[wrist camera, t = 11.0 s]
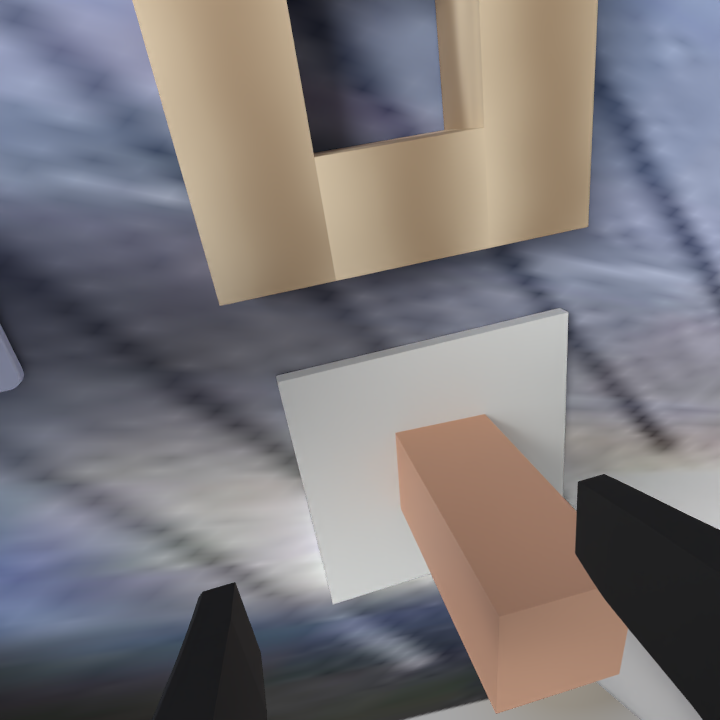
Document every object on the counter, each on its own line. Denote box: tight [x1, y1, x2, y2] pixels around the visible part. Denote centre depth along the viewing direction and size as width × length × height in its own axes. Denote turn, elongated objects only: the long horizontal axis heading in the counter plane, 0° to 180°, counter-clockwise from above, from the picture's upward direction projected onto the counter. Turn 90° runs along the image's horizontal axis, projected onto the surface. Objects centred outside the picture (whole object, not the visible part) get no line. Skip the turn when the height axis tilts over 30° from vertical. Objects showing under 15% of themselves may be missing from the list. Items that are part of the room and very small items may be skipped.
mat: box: [276, 308, 568, 604], centre depth 22 cm, size 12×12×1 cm
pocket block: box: [132, 0, 598, 306], centre depth 14 cm, size 12×12×3 cm
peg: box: [395, 414, 628, 714], centre depth 18 cm, size 4×4×9 cm
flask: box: [596, 629, 703, 720], centre depth 24 cm, size 7×7×10 cm
